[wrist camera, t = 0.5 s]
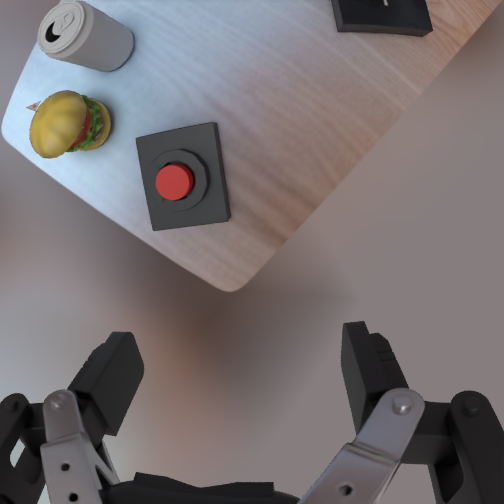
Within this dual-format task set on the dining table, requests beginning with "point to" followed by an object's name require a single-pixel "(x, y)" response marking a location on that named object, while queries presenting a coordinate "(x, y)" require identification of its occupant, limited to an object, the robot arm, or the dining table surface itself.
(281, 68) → the dining table surface
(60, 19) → the beverage can
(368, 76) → the dining table surface
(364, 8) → the panel
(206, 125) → the button block
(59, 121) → the hamburger
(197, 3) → the dining table surface
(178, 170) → the button
